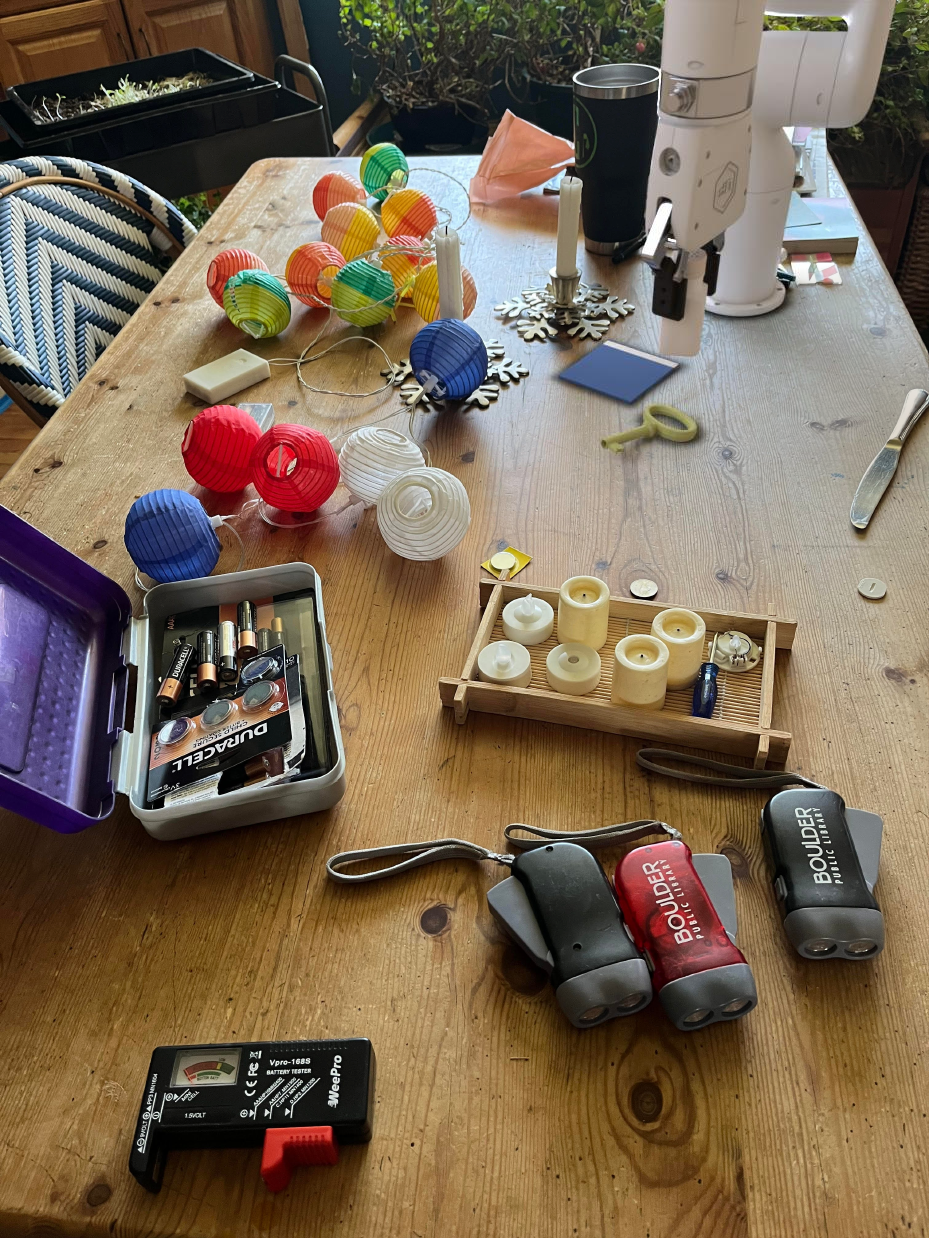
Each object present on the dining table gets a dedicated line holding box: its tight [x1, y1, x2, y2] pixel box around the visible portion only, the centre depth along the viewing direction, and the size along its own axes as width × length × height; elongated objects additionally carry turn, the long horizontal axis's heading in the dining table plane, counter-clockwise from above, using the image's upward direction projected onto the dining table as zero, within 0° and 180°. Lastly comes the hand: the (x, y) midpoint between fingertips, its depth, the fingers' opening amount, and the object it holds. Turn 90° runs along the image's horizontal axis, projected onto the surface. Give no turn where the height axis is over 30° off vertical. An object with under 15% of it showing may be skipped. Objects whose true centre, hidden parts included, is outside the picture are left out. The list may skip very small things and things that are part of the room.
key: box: [600, 403, 698, 455], centre depth 99 cm, size 7×12×2 cm, turn 139°
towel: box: [557, 339, 681, 405], centre depth 110 cm, size 11×11×1 cm
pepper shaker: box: [657, 248, 708, 358], centre depth 83 cm, size 4×4×10 cm
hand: (683, 302), depth 83 cm, fingers closed on pepper shaker, 4 cm apart
